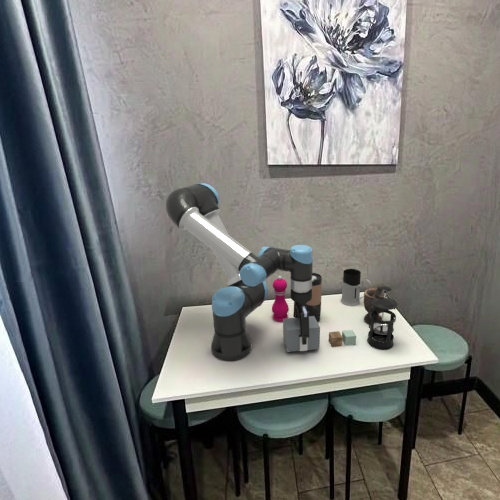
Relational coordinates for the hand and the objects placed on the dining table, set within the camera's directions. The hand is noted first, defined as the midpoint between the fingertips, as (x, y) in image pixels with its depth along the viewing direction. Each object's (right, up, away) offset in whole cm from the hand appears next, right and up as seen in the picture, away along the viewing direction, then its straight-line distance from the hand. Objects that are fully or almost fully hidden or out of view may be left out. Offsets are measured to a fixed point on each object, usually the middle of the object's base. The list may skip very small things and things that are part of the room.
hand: (300, 343), depth 133 cm
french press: (+30, 0, +2) cm, 30 cm away
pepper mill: (-6, +5, +21) cm, 22 cm away
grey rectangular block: (0, 0, 0) cm, 0 cm away
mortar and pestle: (+33, +5, +14) cm, 36 cm away
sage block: (+19, 0, +2) cm, 19 cm away
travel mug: (+7, +5, +19) cm, 21 cm away
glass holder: (+29, +10, +30) cm, 43 cm away
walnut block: (+13, -1, +2) cm, 14 cm away
